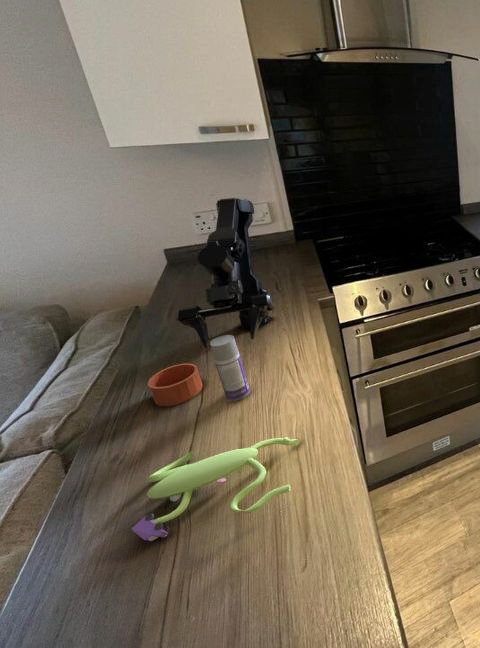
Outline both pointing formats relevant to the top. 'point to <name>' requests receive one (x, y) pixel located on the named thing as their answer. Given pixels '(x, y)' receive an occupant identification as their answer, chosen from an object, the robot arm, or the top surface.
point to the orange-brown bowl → (175, 384)
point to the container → (230, 367)
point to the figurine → (205, 483)
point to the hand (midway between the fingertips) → (229, 343)
